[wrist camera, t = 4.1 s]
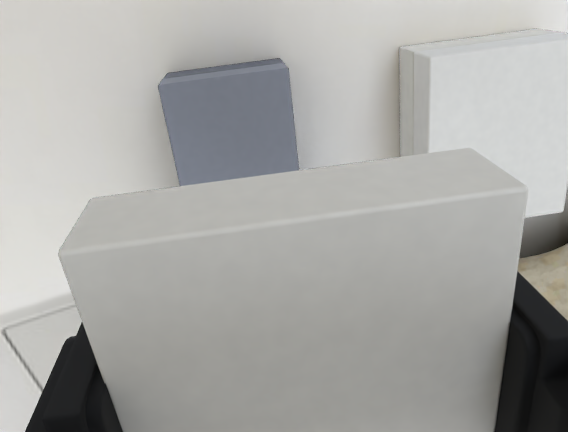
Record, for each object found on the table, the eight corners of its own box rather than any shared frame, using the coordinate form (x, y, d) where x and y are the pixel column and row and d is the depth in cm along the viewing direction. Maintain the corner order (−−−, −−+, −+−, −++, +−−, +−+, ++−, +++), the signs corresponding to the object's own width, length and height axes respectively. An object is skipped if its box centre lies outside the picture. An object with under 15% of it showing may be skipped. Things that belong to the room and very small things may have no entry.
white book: (88, 196, 8) (53, 253, 6) (471, 145, 8) (531, 186, 7) (180, 493, 11) (173, 578, 10) (448, 448, 12) (483, 523, 10)
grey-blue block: (166, 72, 21) (157, 85, 18) (280, 57, 21) (288, 67, 18) (200, 235, 24) (197, 265, 22) (298, 220, 25) (307, 249, 22)
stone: (619, 189, 26) (697, 231, 21) (616, 281, 29) (686, 334, 24) (415, 253, 26) (453, 307, 22) (433, 338, 29) (470, 401, 25)
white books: (398, 46, 22) (429, 56, 18) (537, 28, 22) (591, 35, 19) (400, 201, 25) (426, 233, 22) (520, 184, 25) (564, 212, 22)
